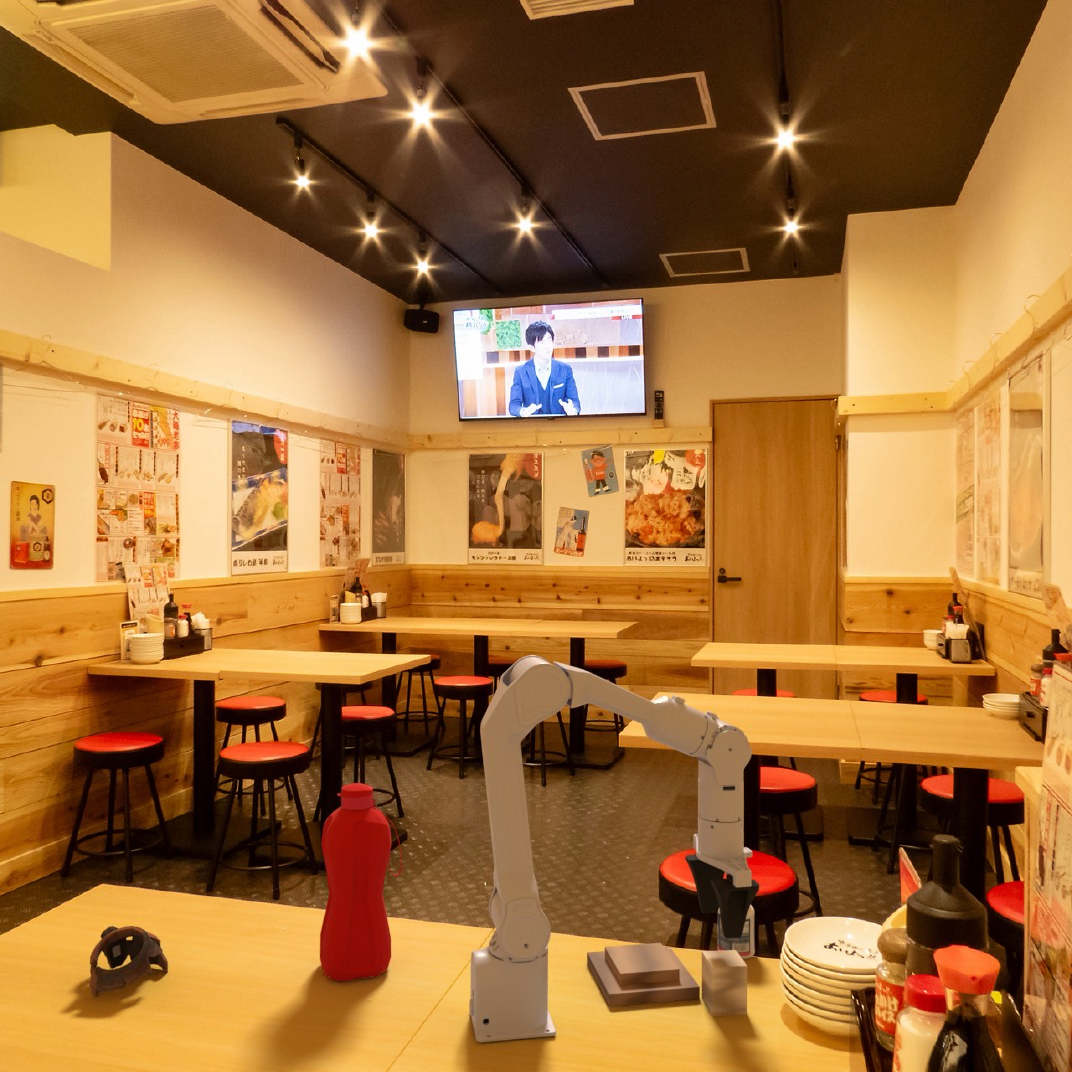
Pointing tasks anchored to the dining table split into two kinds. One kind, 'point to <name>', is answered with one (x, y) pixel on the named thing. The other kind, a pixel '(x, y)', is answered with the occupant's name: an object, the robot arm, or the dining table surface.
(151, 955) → the dark brown ring housing
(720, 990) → the oak block
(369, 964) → the water bottle
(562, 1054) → the dining table surface
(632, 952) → the walnut pedestal
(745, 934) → the pill bottle
